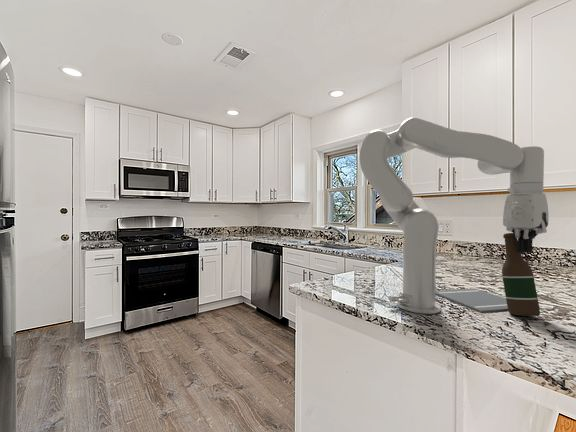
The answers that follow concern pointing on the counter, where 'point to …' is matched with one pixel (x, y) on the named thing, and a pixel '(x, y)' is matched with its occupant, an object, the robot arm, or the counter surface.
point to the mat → (475, 299)
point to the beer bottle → (518, 281)
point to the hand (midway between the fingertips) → (524, 252)
